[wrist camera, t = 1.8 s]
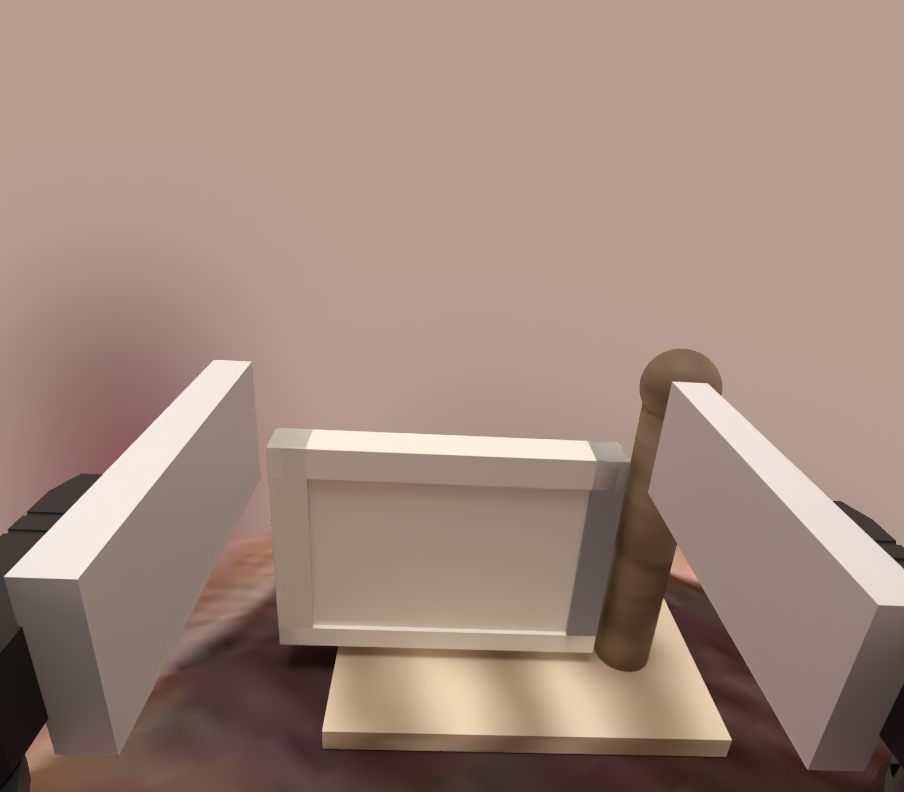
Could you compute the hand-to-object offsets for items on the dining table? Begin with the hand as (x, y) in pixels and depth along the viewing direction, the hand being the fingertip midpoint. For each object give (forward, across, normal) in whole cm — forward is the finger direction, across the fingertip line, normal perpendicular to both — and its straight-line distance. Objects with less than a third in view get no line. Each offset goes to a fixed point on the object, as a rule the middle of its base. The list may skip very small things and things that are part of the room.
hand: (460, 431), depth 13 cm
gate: (+14, 0, -20) cm, 25 cm away
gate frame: (+18, +5, -22) cm, 29 cm away
